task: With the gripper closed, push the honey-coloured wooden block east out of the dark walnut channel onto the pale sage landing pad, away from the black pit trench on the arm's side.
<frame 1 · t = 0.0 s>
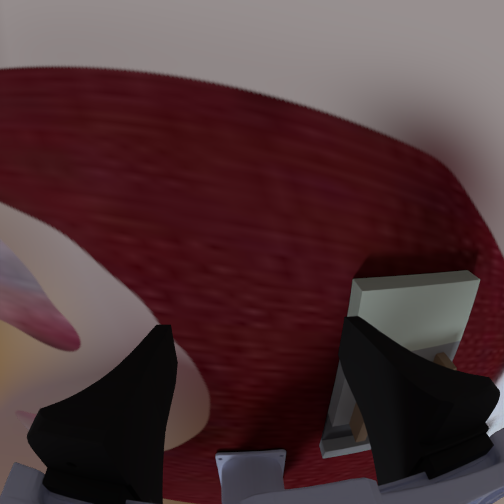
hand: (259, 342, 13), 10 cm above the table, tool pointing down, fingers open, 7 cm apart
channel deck: (389, 377, 28), on the table
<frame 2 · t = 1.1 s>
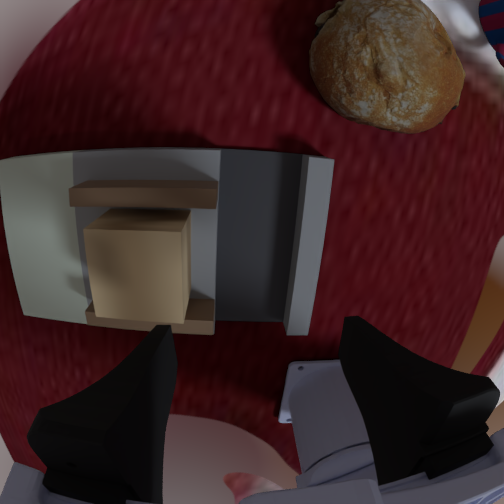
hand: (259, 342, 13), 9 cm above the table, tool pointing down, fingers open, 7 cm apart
wooden block: (150, 249, 19), point 2 cm above the table, touching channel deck
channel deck: (157, 238, 21), on the table
mug: (495, 36, 16), on the table
bread roll: (379, 65, 18), on the table
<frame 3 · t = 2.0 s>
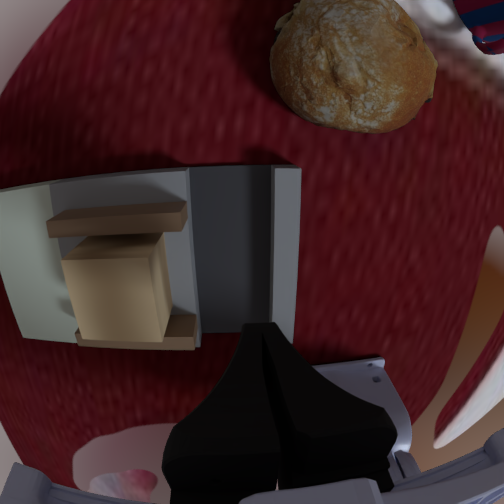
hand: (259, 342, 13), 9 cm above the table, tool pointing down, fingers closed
wooden block: (130, 271, 19), point 2 cm above the table, touching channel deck
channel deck: (138, 258, 21), on the table
mug: (472, 19, 15), on the table
bread roll: (347, 63, 17), on the table
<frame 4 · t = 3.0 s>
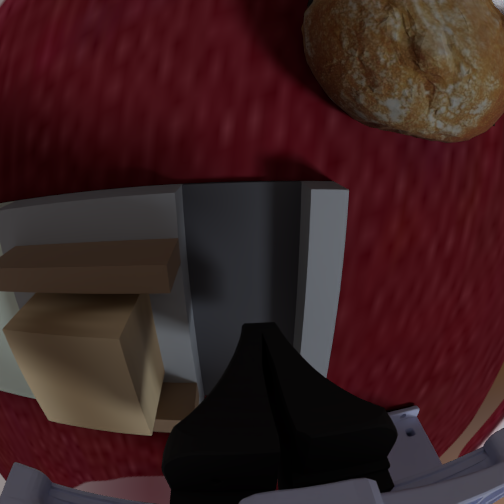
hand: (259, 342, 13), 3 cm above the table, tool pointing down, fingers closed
wooden block: (105, 329, 13), point 2 cm above the table, touching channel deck
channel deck: (117, 307, 15), on the table
bread roll: (401, 45, 12), on the table
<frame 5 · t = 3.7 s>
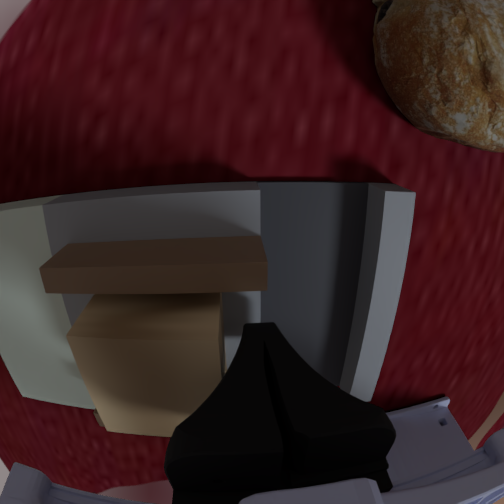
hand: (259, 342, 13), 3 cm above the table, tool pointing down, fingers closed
wooden block: (167, 330, 14), point 2 cm above the table, touching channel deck, gripper
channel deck: (175, 307, 15), on the table
bread roll: (450, 59, 12), on the table
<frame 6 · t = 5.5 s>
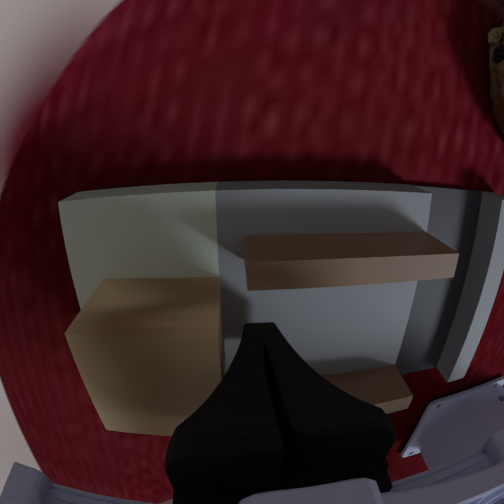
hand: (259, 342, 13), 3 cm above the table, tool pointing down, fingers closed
wooden block: (167, 329, 13), point 2 cm above the table, touching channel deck, gripper
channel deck: (323, 301, 16), on the table
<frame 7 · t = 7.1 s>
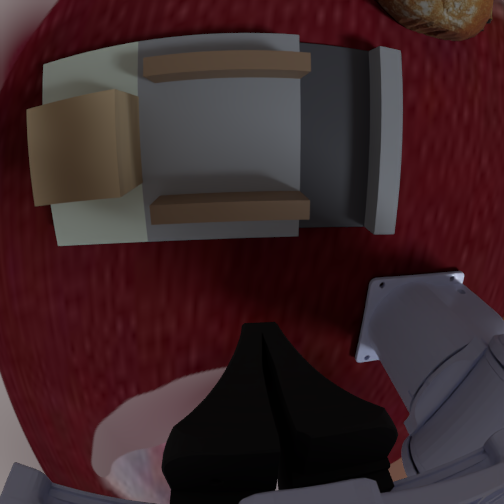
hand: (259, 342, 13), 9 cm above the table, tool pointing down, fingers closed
wooden block: (100, 144, 16), point 2 cm above the table, touching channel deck
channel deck: (228, 134, 18), on the table
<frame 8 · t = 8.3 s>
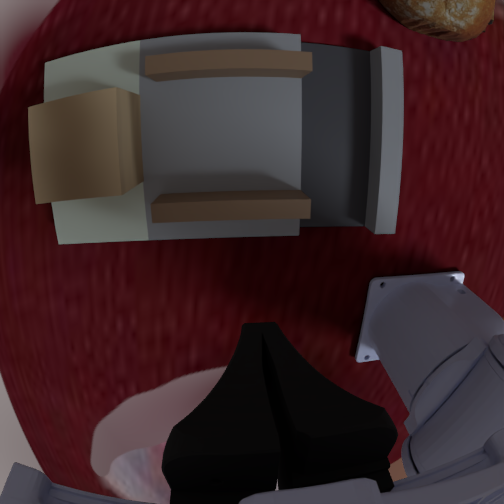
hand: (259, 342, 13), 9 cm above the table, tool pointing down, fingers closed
wooden block: (101, 142, 16), point 2 cm above the table, touching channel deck
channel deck: (229, 133, 18), on the table
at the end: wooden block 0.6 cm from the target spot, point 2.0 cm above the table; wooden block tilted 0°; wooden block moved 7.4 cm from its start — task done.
